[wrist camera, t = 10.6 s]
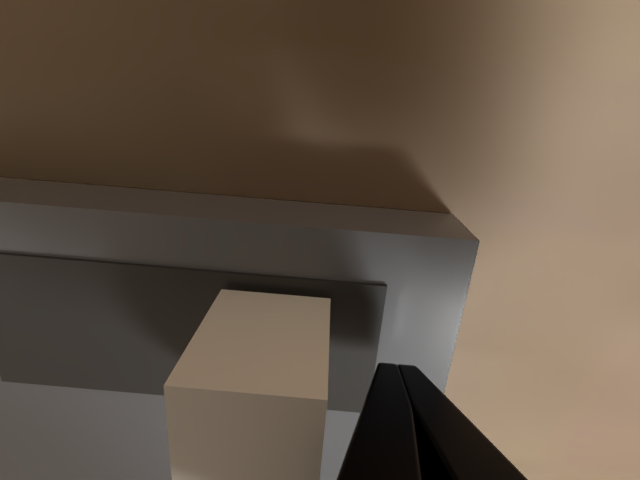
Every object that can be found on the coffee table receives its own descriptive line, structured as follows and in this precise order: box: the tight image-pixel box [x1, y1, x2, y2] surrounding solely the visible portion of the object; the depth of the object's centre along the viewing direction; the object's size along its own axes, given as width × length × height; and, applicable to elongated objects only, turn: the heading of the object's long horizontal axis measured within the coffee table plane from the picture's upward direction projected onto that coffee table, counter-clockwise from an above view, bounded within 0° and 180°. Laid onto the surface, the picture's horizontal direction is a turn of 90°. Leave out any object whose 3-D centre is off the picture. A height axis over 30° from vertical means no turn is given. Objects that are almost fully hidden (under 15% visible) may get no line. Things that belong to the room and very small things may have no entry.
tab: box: [164, 289, 331, 480], centre depth 7 cm, size 3×2×3 cm
